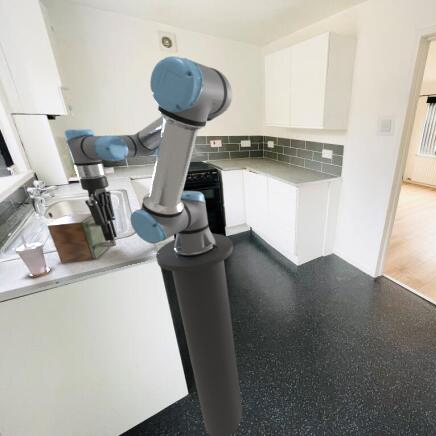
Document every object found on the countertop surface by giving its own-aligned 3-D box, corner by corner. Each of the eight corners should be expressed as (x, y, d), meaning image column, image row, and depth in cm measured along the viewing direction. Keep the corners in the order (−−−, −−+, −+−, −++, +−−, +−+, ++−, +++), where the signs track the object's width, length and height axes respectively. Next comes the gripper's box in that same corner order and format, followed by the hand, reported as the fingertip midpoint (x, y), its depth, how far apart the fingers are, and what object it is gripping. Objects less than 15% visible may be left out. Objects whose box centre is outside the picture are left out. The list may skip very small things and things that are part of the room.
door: (127, 244, 103) (118, 211, 98) (116, 256, 93) (106, 220, 88) (106, 246, 102) (96, 213, 97) (93, 259, 92) (81, 222, 87)
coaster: (53, 268, 86) (53, 267, 86) (44, 276, 82) (43, 274, 81) (36, 270, 85) (36, 269, 85) (26, 278, 80) (25, 277, 80)
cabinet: (106, 246, 102) (95, 212, 96) (92, 259, 92) (80, 222, 86) (78, 249, 99) (66, 215, 94) (61, 263, 89) (46, 225, 84)
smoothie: (24, 272, 83) (7, 235, 78) (50, 264, 87) (35, 228, 82) (27, 279, 79) (10, 240, 74) (54, 270, 84) (39, 233, 79)
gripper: (91, 173, 90) (108, 231, 98) (67, 181, 77) (89, 248, 85) (114, 172, 92) (129, 230, 100) (94, 180, 78) (114, 246, 87)
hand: (111, 238), depth 93 cm, fingers closed
